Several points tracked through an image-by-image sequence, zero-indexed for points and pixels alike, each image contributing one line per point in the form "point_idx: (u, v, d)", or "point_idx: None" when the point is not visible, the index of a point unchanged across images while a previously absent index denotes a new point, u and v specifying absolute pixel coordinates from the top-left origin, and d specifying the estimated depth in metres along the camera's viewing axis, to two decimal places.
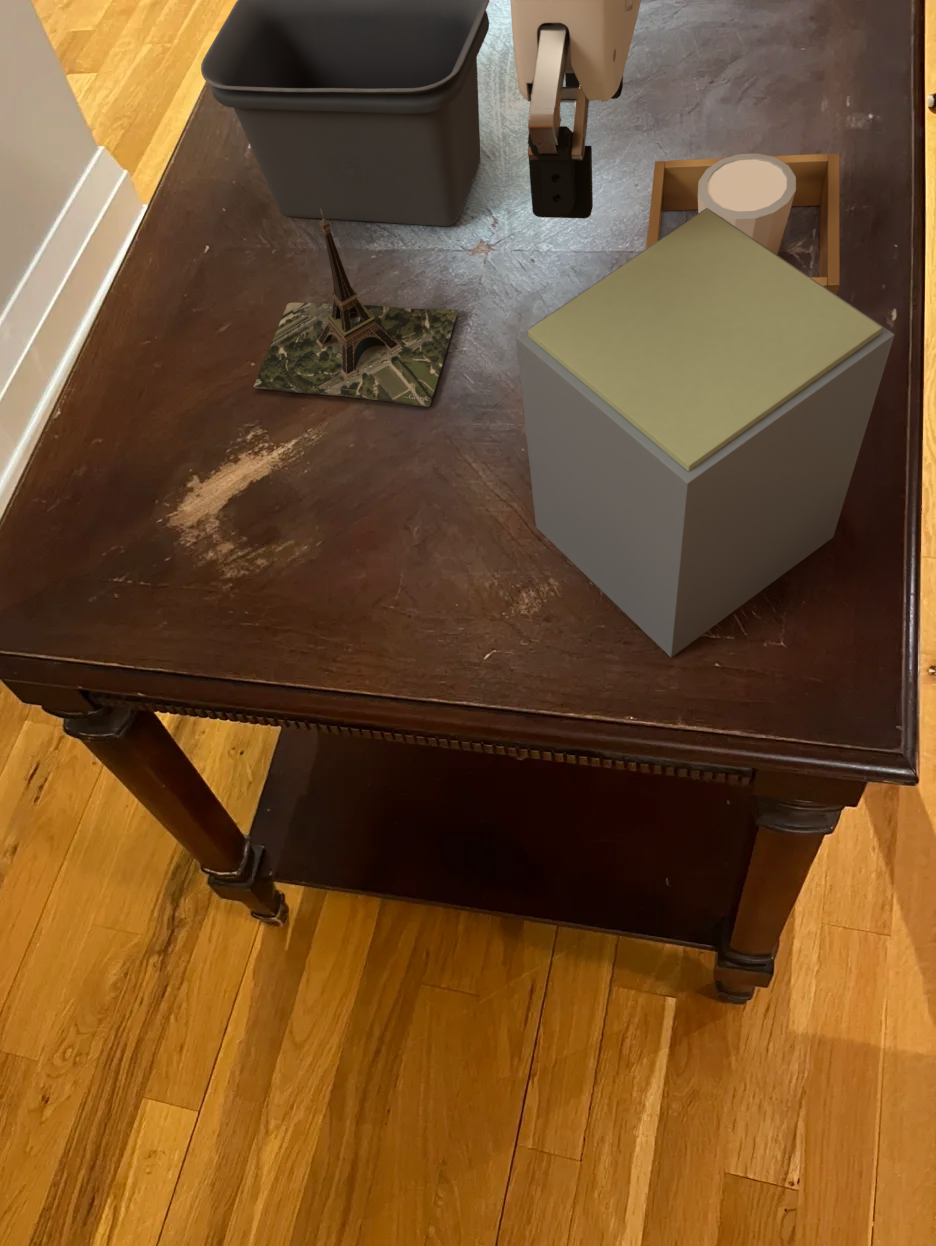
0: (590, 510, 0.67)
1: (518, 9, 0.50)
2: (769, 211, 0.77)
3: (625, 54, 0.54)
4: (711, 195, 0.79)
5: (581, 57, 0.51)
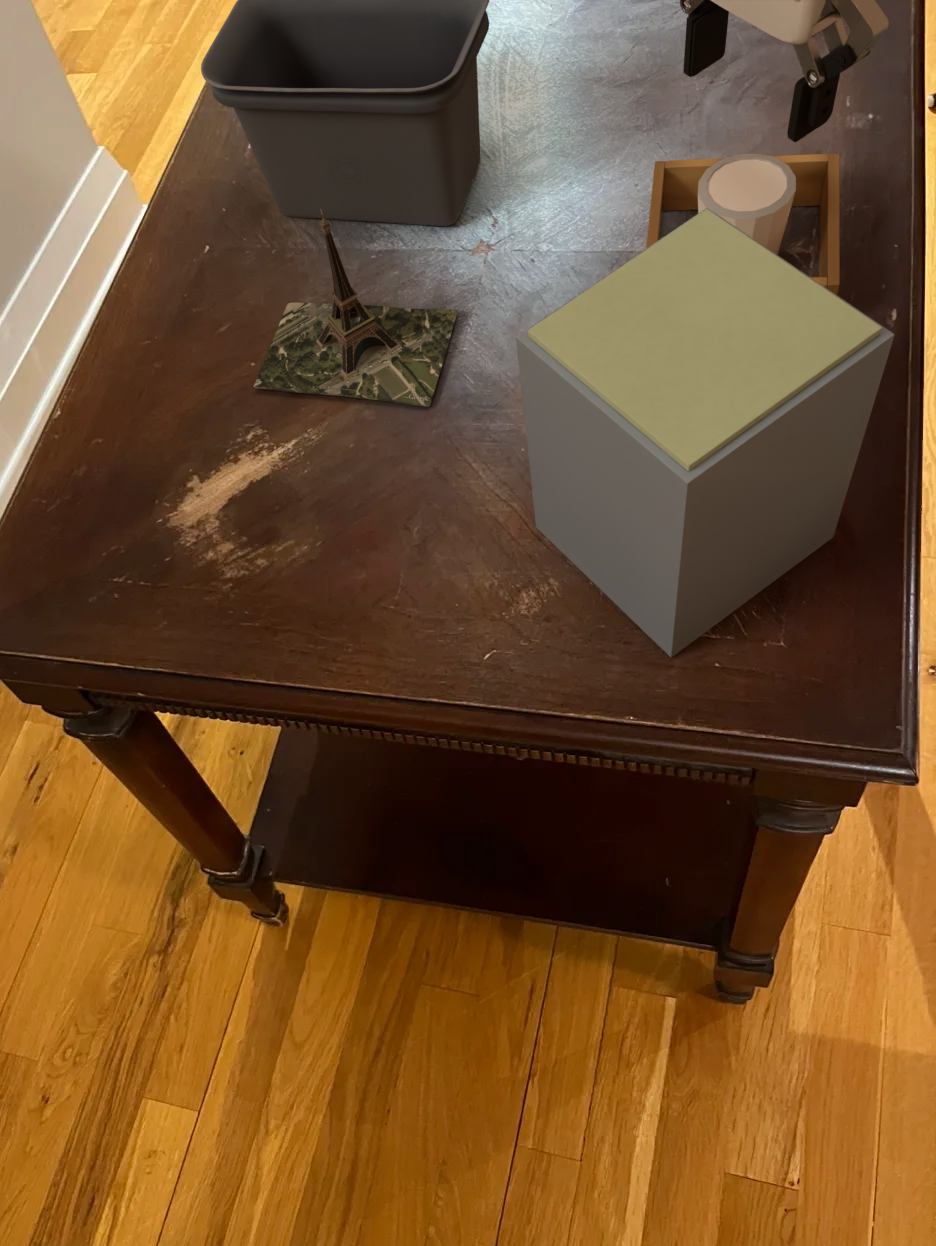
0: (590, 510, 0.67)
1: None
2: (769, 211, 0.77)
3: None
4: (711, 195, 0.79)
5: None
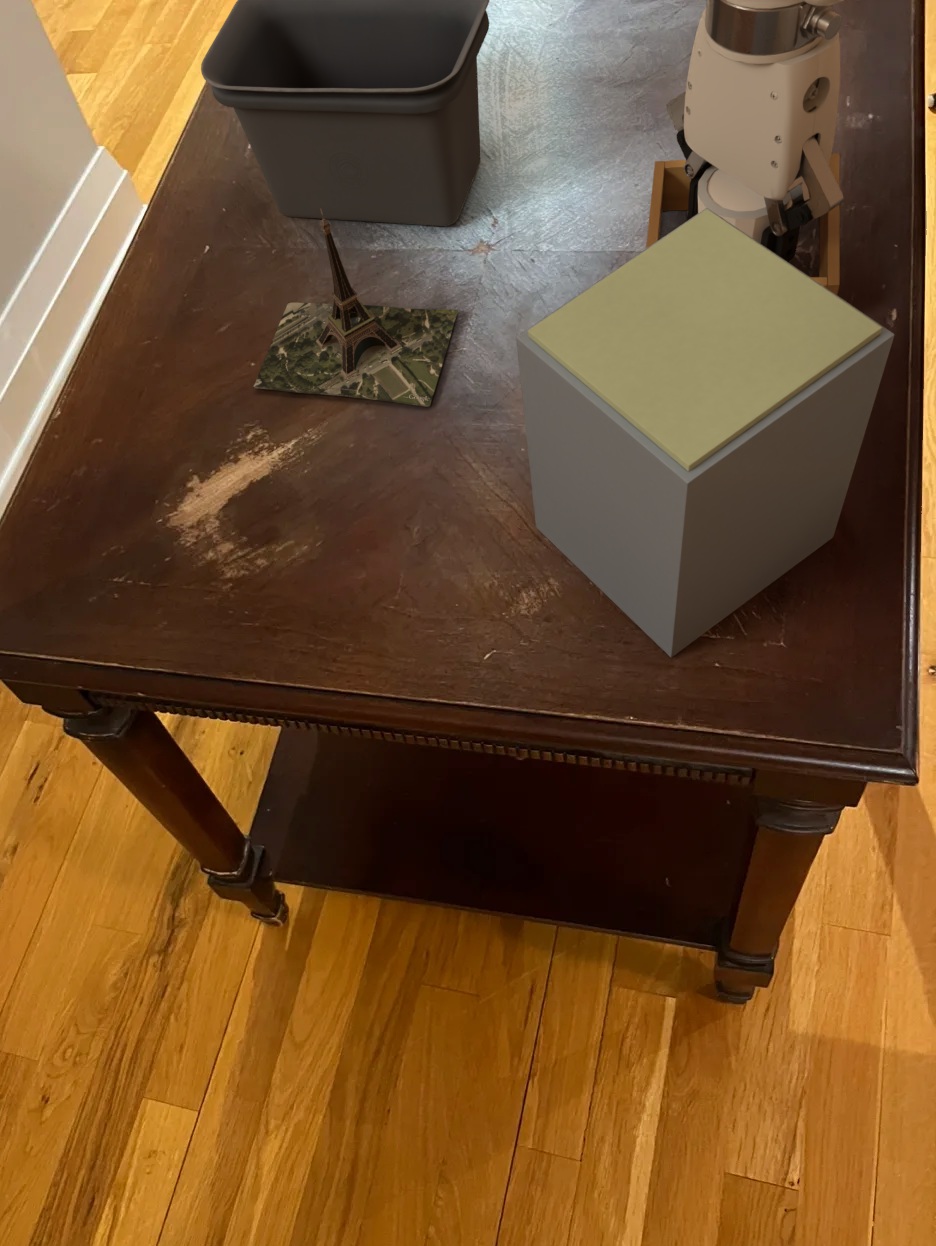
0: (590, 510, 0.67)
1: (791, 140, 0.70)
2: None
3: None
4: (711, 195, 0.79)
5: (823, 148, 0.72)
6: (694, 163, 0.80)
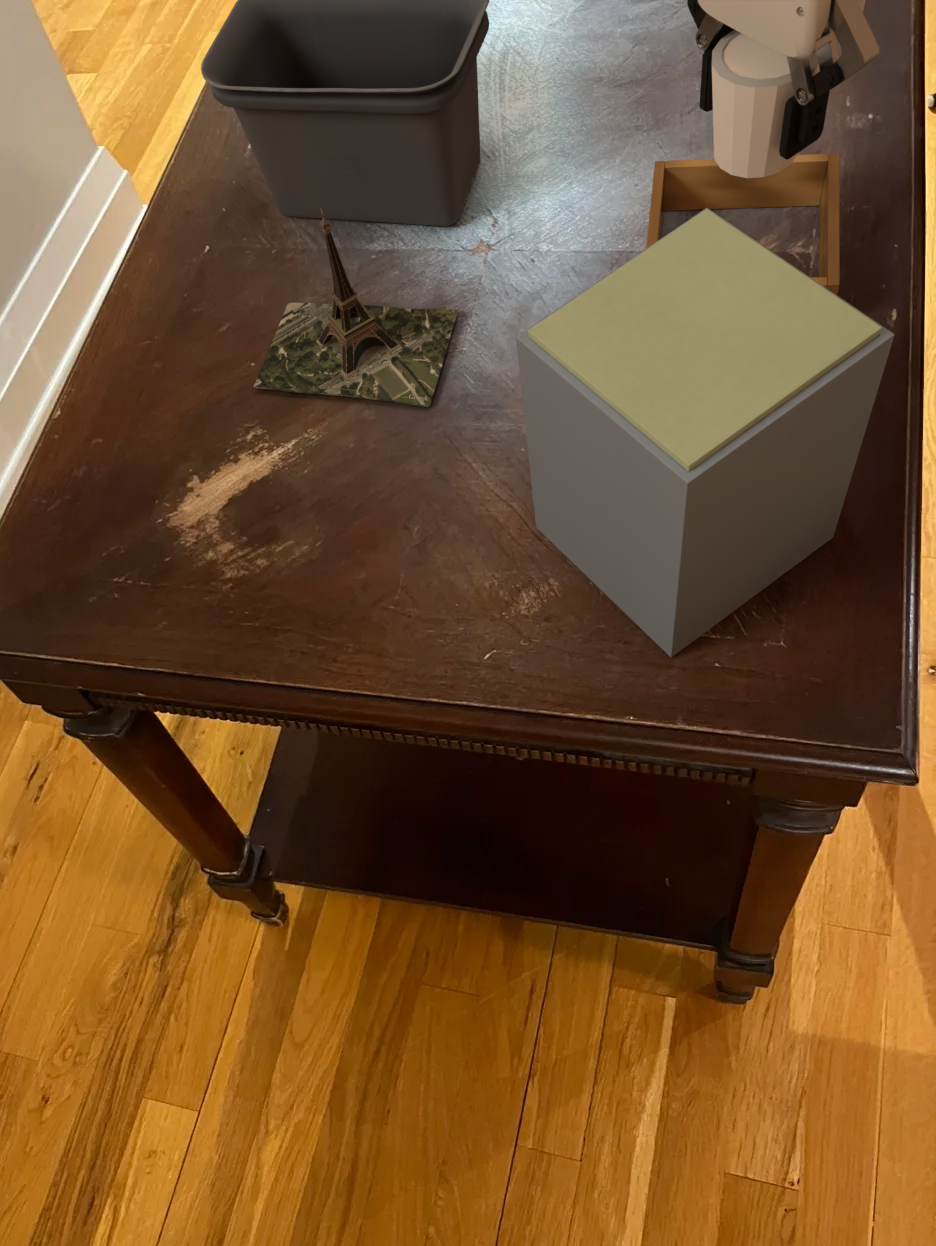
0: (590, 510, 0.67)
1: None
2: None
3: None
4: (727, 64, 0.70)
5: None
6: (707, 30, 0.71)
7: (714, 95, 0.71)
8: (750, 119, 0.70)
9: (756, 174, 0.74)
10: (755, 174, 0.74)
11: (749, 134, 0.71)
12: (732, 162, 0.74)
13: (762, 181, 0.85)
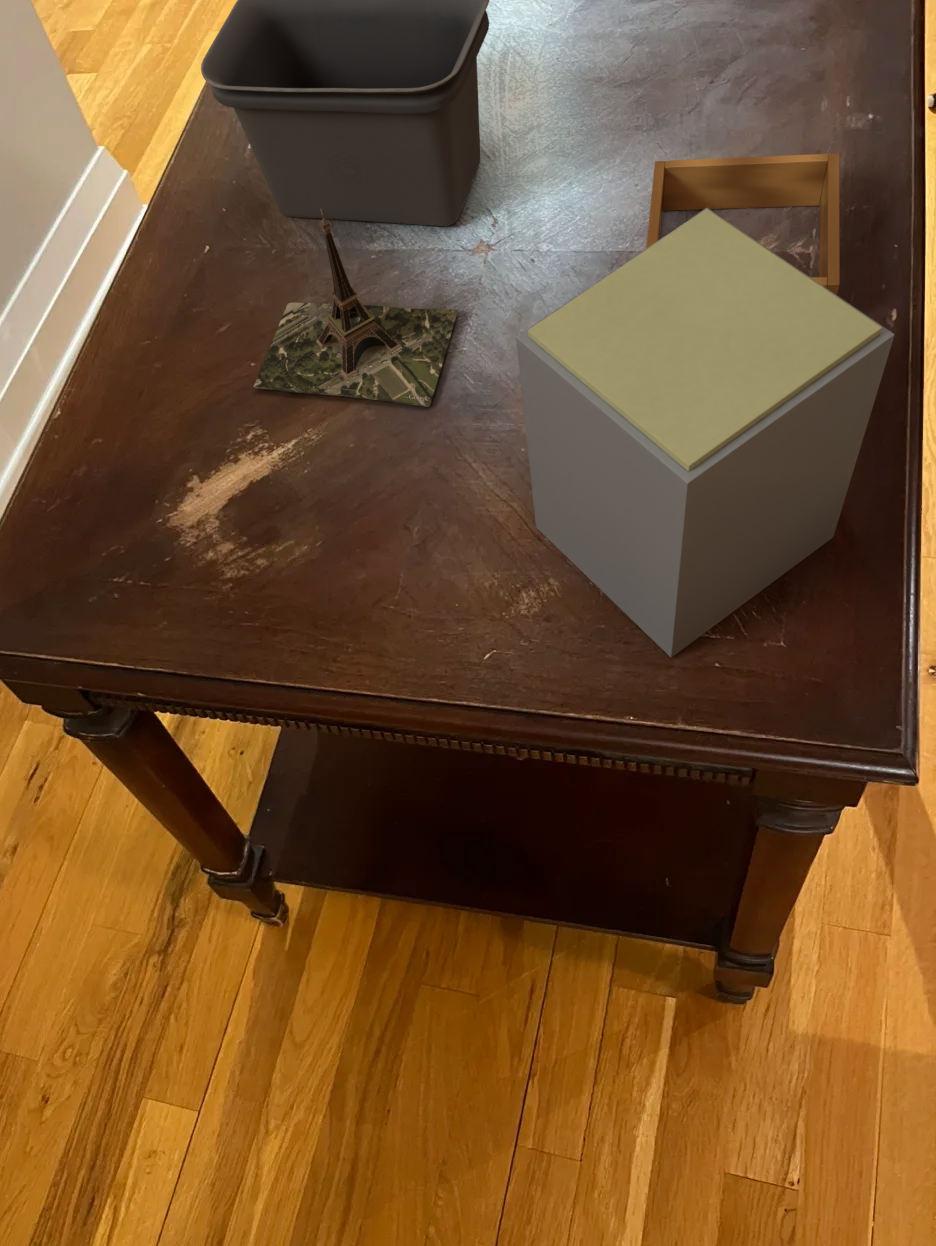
0: (590, 510, 0.67)
1: None
2: None
3: None
4: None
5: None
6: None
7: None
8: None
9: None
10: None
11: None
12: None
13: (762, 181, 0.85)
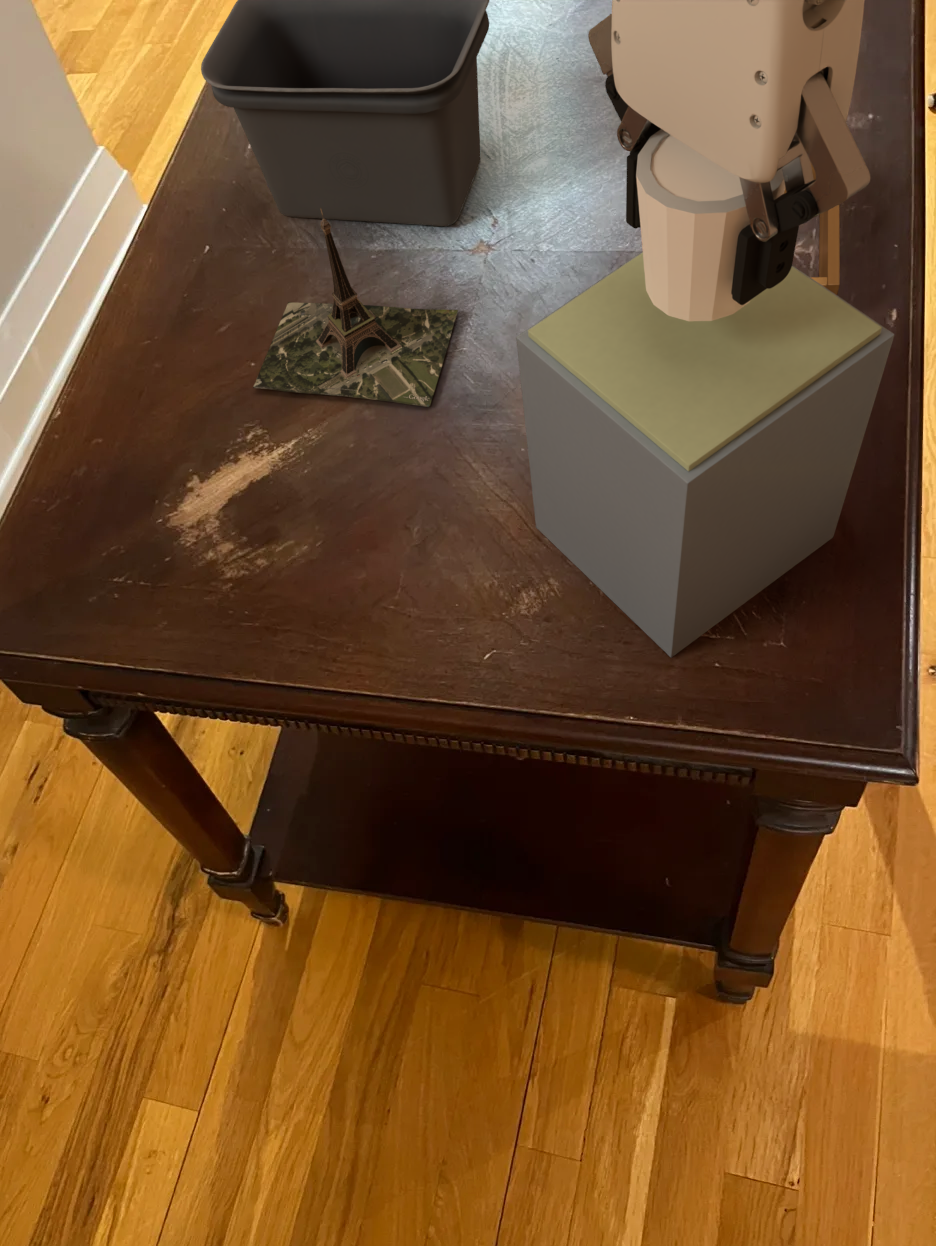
0: (590, 510, 0.67)
1: (784, 78, 0.41)
2: None
3: None
4: (657, 176, 0.50)
5: (837, 95, 0.43)
6: (632, 126, 0.51)
7: (641, 214, 0.51)
8: (690, 252, 0.50)
9: (701, 316, 0.54)
10: (700, 318, 0.54)
11: (689, 270, 0.51)
12: (668, 301, 0.54)
13: None
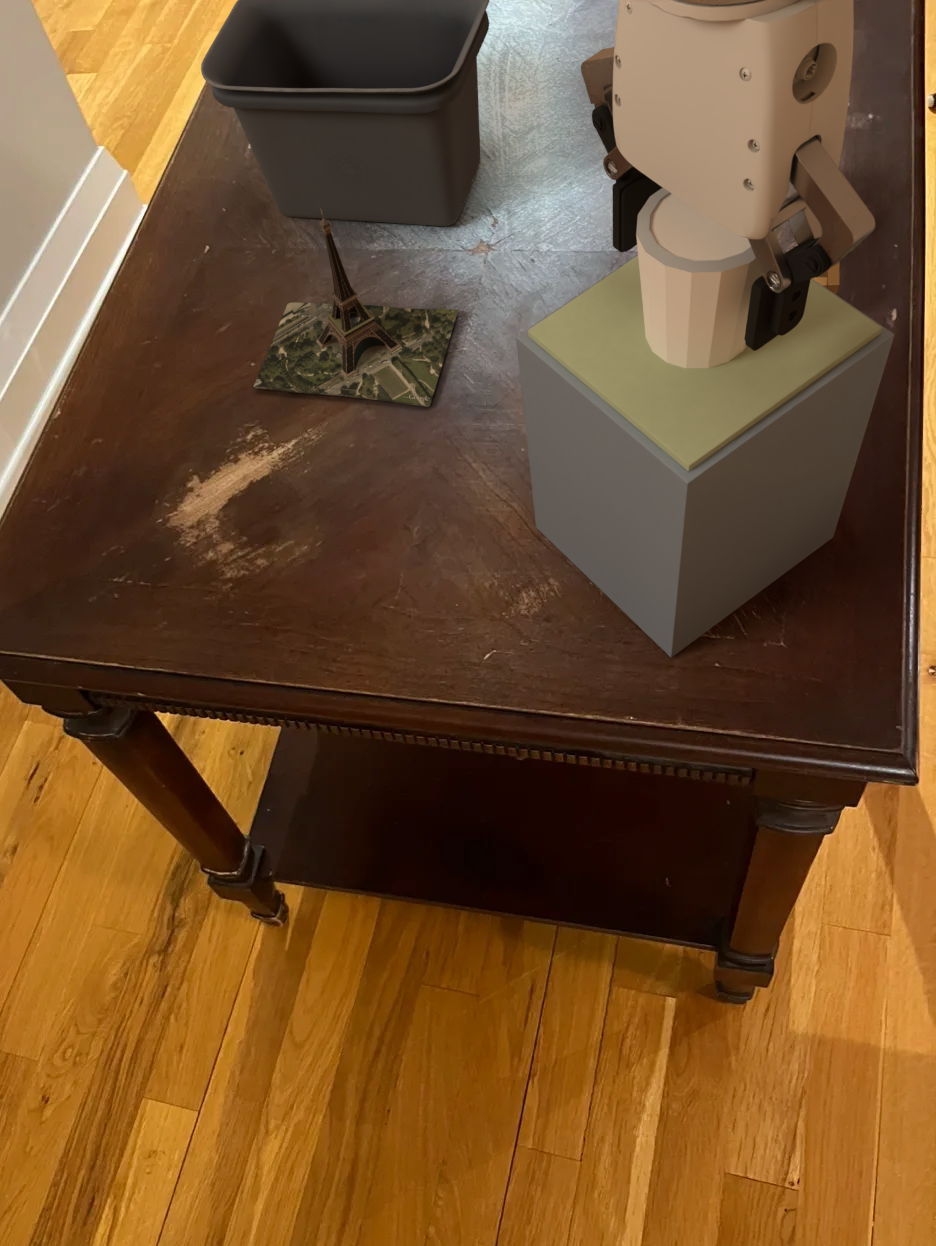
0: (590, 510, 0.67)
1: (775, 146, 0.44)
2: (742, 261, 0.51)
3: None
4: (656, 235, 0.52)
5: None
6: (620, 161, 0.53)
7: (641, 270, 0.54)
8: (687, 306, 0.53)
9: (698, 364, 0.57)
10: (697, 365, 0.57)
11: (687, 322, 0.54)
12: (667, 349, 0.57)
13: None
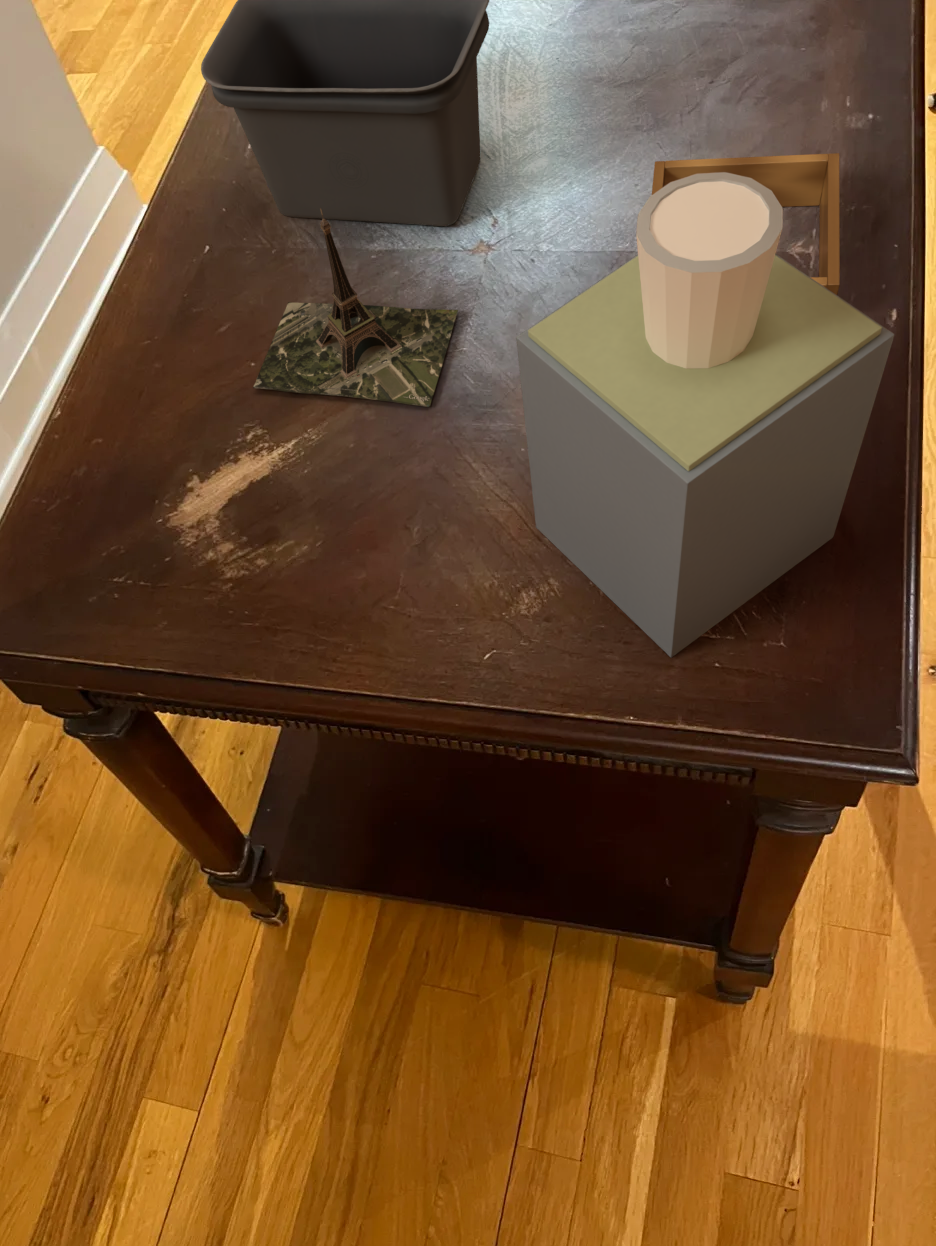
0: (590, 510, 0.67)
1: None
2: (742, 261, 0.51)
3: None
4: (656, 235, 0.52)
5: None
6: None
7: (641, 270, 0.54)
8: (687, 306, 0.53)
9: (698, 364, 0.57)
10: (697, 365, 0.57)
11: (687, 322, 0.54)
12: (667, 349, 0.57)
13: (762, 181, 0.85)
